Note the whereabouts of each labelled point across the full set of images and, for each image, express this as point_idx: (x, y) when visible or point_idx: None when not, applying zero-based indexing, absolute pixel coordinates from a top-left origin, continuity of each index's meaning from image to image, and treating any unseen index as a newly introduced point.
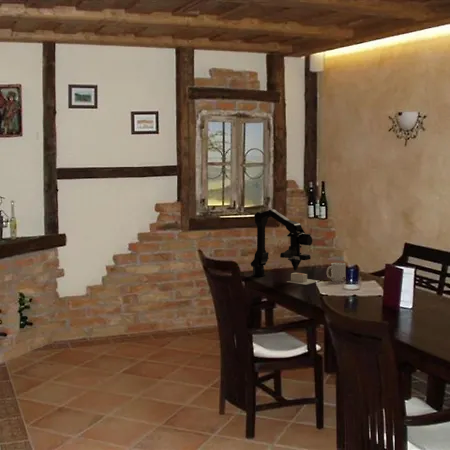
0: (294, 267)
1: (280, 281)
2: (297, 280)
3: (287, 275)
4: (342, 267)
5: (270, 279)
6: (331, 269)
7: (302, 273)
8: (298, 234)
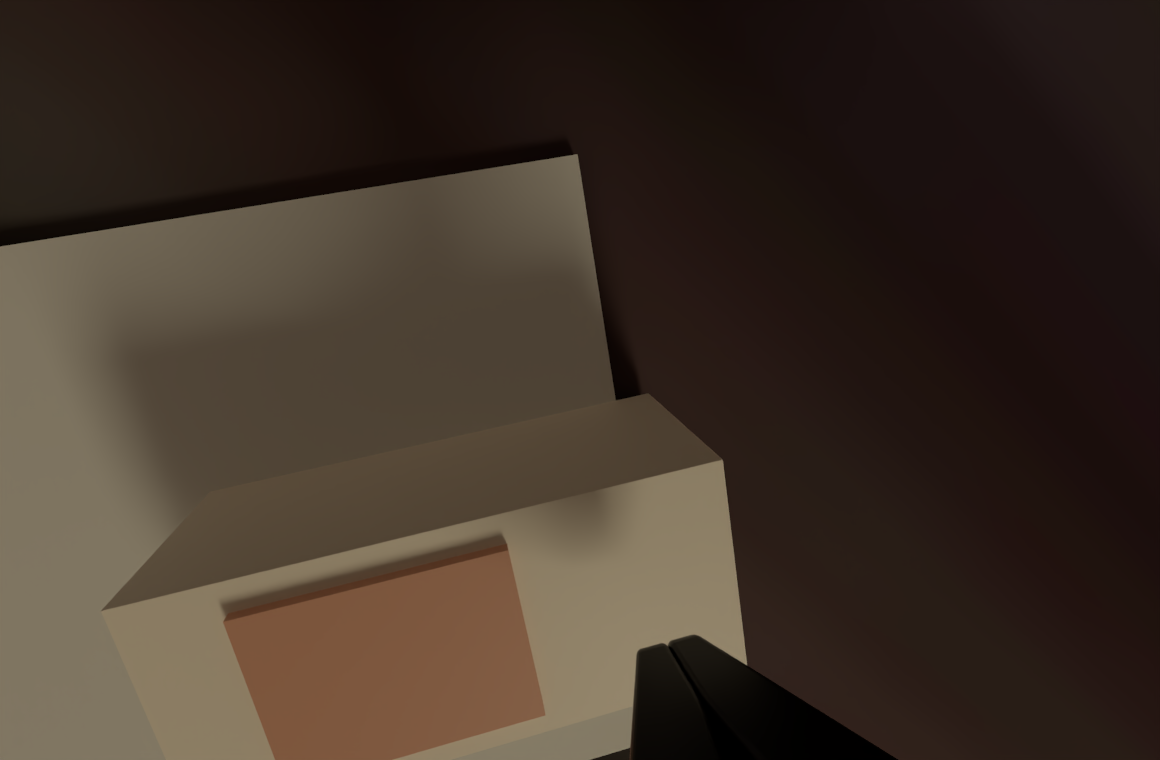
0: (709, 728)
1: (760, 87)
2: (420, 448)
3: (1093, 694)
4: None
5: (1119, 91)
6: None
7: (385, 753)
8: None
